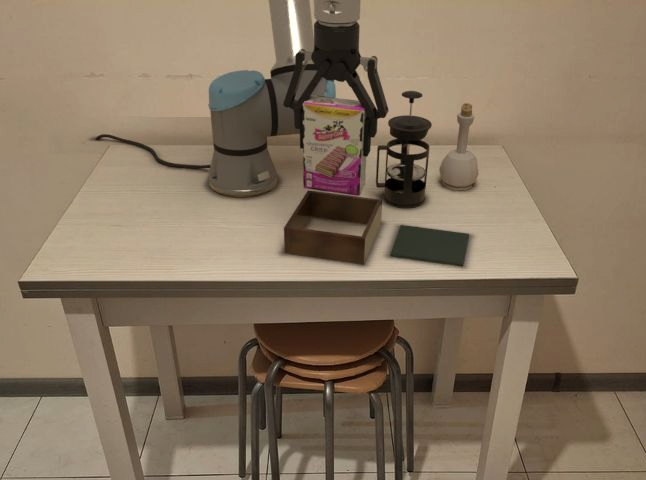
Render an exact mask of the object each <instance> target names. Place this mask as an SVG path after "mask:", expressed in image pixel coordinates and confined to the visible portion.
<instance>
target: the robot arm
mask: <svg viewBox="0 0 646 480" xmlns="http://www.w3.org/2000/svg"><path fill="white" fill-rule="evenodd" d="M268 7H269V8H268V9H269V15H270V23H271V31H272V32H271V33H272V40H273V48H274V56H275V63H274V64H273V66H272V67H271V68H270V71H269V72H270V78H265V76H264V75H263V73H262V72H260V71H257V70H248V69H243V70H234V71H230V72H227V73H224V74H221V75H219V76H217V77H216V78H215V79H213V80H212V81H211V83H210V84H209V87H208V110H209V111H210V123H211V133H212V142H213V143H212V144H213V153H212V158H211V162H210V164H200V165H199V164H185V163H184V164H183V163H174V162H169V161H167V160H163V159H161V157H159V156H158V154H157V152H156V151H155V150H154V149H153V148H151V147H150V146H148V145H146V144H144V143H141V142H138V141H134V140H130V139H126V138H121V137H119V136H115V135H113V134H107V133H101V134H99V135H98V136H96V137H95V139H94V140H95V141H99V140H100V139H103V138H109V139H113V140H116V141H118V142H122V143H126V144H131V145H134V146H137V147H141V148H143V149H145V150H147V151H149V152H150V153H151V154H152V156H153V158H154V159H155V160H156V161H157V162H158V163H160V164H162V165H165V166H169V167H175V168H182V169H183V168H184V169H196V170H197V169H200V170H201V169H209V171H208V184H209V187H210V189H211V190H212V191H214V192H215V193H218V194H219V195H222V196H228V197H235V198H247V197H253V196H254V197H257V196H259V195H263V194H265V193H266V194H267V193H268V192H270V191H271V190H273V189H274V188H275V187H276V186H277V184H278V173H277V169H276V167H275V164H274V161H273V159H272V156H271V153H270V151H269V148H268V138H271V137H279V136H291V135H299V149H301V150H303V103H304V101H307V99H308V98H309V97H310V96H311V95H315V96H324V97H332V98H337V89H336V83H335V81H336V82H340V83H344V82H346V84H347V85H348V87H349V88H350V89H351V90H352V92H353V93H354V95H355V97H356V99H357V101H359V102H360V104H361V105H362V107H363V108H364V110H365V112H366V114H367V118H366V119H365V124H364V150H363V156H366V158H367V157H368V156H369V154H370V153H371V148H372V147H371V145H372V138H373V139H374V138H375V137H376V135H377V133H378V119H385V118H386V117H387V115H388V113H389V106H388V103H387V99H386V96H385V93H384V89H383V86H382V82H381V79H380V76H379V72H378V57H377V56H376V55H371V56H370V57H366V56H361V53H360V30H361V29H360V23H359V22H358V21H359V20H361V0H313V18H314V19H315V20H316V21H315V22H314V23H313V19H312V10H311V1H310V0H268ZM359 66H362V68H363V71H364V72H366V73H367V80H368V83H369V86H370V89H371V92H372V95H373V100H374V102H375V103H374V102H373V100H372V98H371V97H370V94H369V92H368V91H367V90H366V88H365V86H364V84H363V83H362V81H361V78H360V75H359V72H357V69H358V68H359Z"/></svg>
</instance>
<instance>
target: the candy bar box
mask: <svg viewBox="0 0 646 480" xmlns="http://www.w3.org/2000/svg"><path fill="white" fill-rule="evenodd" d="M366 118H367V114H366V112H365V110H364V108H363V107H362V105H361V104H360V102H359V100H355V99H347V98H340V97H339V98H338V97H336V98H332V97H324V96H315V95H311V96H310V97H309V98H308V99H307V101H304V103H303V149H302V153H303V155H302V159H303V160H302V164H303V165H302V169H303V176H302V177H303V179H302V180H303V184H302V185H303V189H305V190H312V191H319V192H326V193H334V194H341V195H349V196H357V197H360V196H361V194H362V191H363V190H364V188H365V186H366V177H367V176H366V173H367V172H366V170H367V157H366V156H363V150H364V124H365V119H366Z"/></svg>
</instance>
